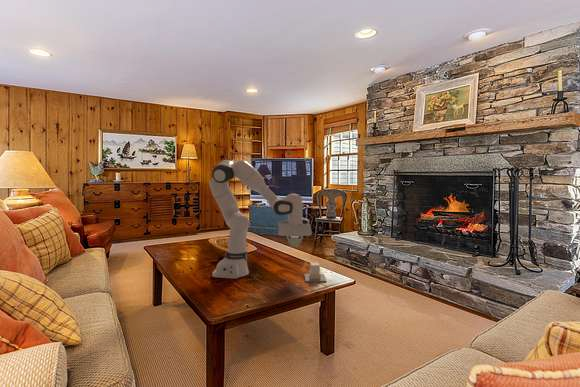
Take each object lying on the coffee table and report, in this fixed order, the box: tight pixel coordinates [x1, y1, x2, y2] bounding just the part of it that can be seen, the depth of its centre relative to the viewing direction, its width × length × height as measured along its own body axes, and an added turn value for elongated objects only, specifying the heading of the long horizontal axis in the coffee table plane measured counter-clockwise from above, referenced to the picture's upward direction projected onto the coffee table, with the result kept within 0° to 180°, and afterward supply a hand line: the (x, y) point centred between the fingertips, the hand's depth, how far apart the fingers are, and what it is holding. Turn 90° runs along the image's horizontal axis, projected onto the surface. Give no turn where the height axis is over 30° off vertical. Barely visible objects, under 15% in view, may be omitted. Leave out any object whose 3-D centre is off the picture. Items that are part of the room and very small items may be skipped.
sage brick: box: [290, 236, 300, 247], centre depth 188 cm, size 5×5×5 cm
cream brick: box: [310, 262, 321, 274], centre depth 184 cm, size 5×5×5 cm
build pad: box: [303, 270, 327, 283], centre depth 184 cm, size 12×12×4 cm
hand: (294, 242), depth 188 cm, fingers closed on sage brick, 5 cm apart
